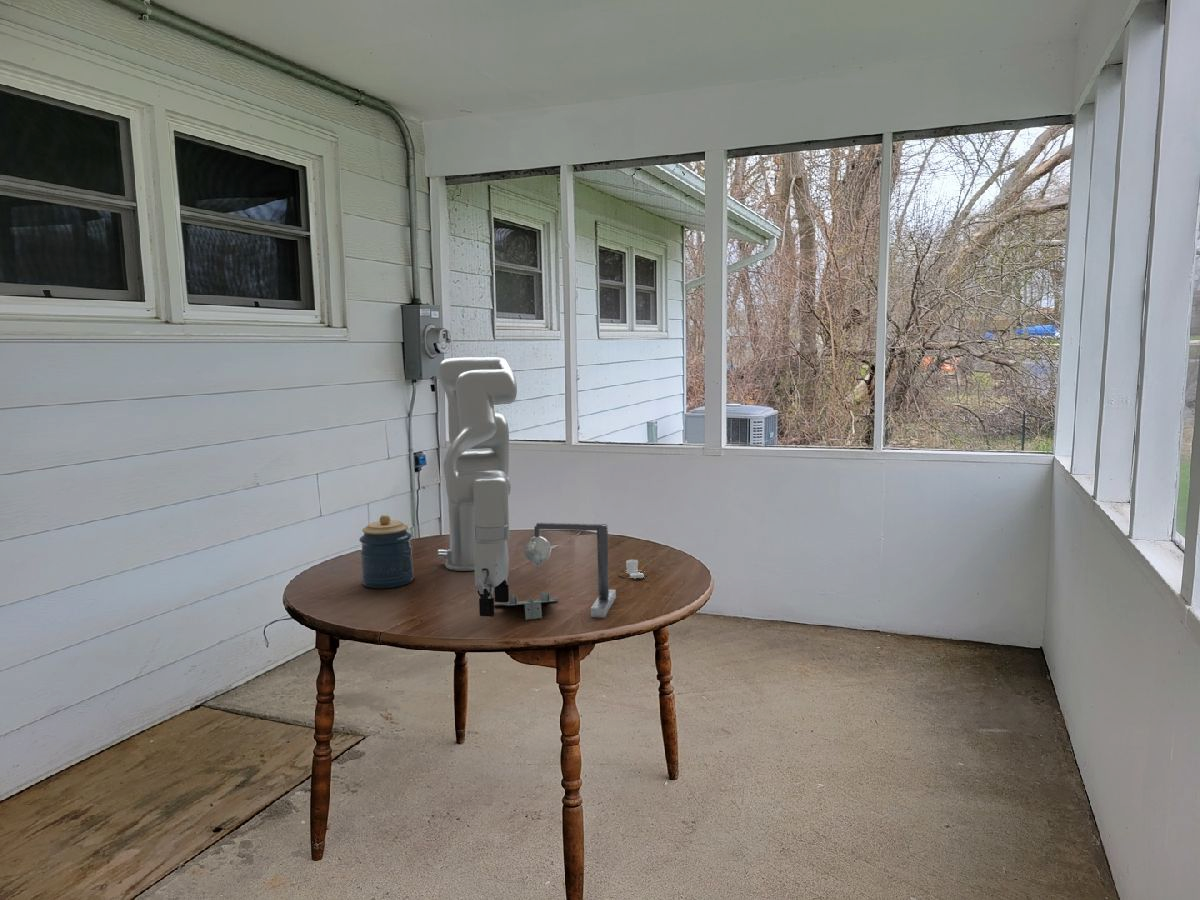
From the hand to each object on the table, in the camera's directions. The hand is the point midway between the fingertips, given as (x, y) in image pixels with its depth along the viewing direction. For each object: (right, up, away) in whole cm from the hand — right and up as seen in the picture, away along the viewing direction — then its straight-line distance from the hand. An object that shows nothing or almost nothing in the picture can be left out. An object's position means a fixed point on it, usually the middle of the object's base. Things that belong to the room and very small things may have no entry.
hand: (494, 608), depth 172 cm
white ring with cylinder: (+30, +1, +29) cm, 42 cm away
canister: (-31, +1, +29) cm, 43 cm away
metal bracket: (+7, -2, +5) cm, 9 cm away
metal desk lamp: (+16, -1, +7) cm, 17 cm away
